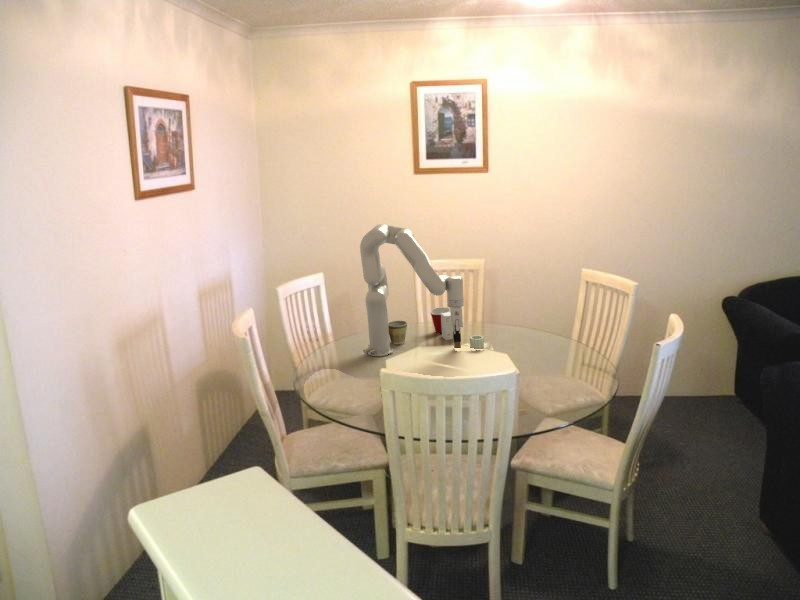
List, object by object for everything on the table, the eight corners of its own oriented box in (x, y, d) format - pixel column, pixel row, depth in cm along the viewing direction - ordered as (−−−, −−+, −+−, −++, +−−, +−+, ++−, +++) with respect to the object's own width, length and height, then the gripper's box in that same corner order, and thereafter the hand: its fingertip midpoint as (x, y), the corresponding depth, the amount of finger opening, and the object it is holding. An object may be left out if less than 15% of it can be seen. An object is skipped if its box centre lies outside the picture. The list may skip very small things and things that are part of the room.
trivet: (454, 354, 299) (454, 352, 299) (452, 345, 311) (452, 344, 311) (493, 351, 299) (493, 350, 299) (490, 343, 310) (490, 342, 310)
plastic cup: (426, 333, 334) (424, 310, 331) (440, 328, 341) (439, 306, 338) (441, 336, 326) (440, 313, 323) (455, 331, 333) (455, 309, 330)
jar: (479, 350, 299) (478, 340, 298) (467, 348, 303) (466, 338, 302) (486, 346, 304) (486, 336, 303) (475, 344, 308) (474, 334, 307)
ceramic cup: (406, 345, 315) (404, 326, 313) (386, 345, 317) (384, 326, 315) (410, 337, 327) (409, 318, 325) (391, 337, 329) (390, 318, 327)
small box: (457, 335, 326) (455, 311, 323) (461, 339, 320) (460, 314, 317) (441, 338, 324) (440, 313, 321) (445, 341, 318) (444, 316, 315)
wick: (458, 350, 302) (457, 325, 299) (452, 349, 304) (451, 324, 301) (461, 348, 304) (460, 323, 301) (456, 347, 306) (455, 322, 303)
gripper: (465, 306, 290) (466, 345, 295) (462, 297, 306) (463, 334, 311) (448, 307, 291) (450, 346, 295) (446, 298, 306) (448, 335, 311)
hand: (457, 340), depth 303 cm, fingers closed on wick, 3 cm apart
